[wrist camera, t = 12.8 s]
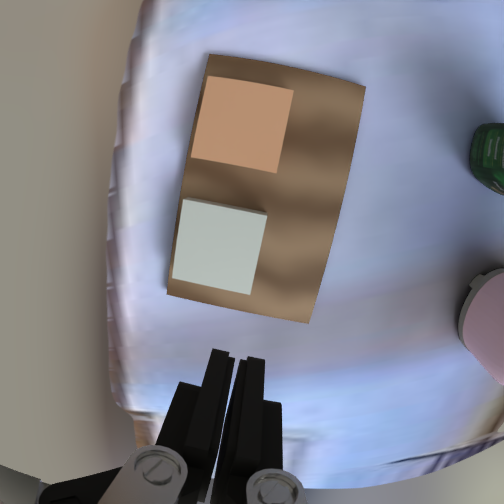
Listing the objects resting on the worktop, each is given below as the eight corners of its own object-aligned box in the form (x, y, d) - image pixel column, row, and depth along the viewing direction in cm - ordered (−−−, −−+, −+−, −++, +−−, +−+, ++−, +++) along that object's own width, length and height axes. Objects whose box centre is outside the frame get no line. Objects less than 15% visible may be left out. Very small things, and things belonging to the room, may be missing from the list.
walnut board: (211, 56, 28) (209, 53, 27) (363, 88, 29) (365, 86, 28) (169, 290, 35) (166, 294, 34) (307, 319, 36) (308, 323, 35)
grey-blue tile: (267, 212, 32) (188, 196, 31) (267, 216, 30) (183, 199, 29) (251, 286, 34) (177, 271, 34) (250, 294, 32) (171, 277, 32)
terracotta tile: (292, 95, 28) (211, 81, 28) (293, 90, 26) (208, 75, 26) (275, 172, 30) (195, 157, 30) (276, 173, 28) (190, 157, 28)
